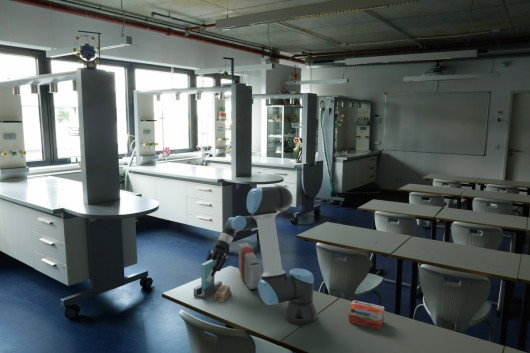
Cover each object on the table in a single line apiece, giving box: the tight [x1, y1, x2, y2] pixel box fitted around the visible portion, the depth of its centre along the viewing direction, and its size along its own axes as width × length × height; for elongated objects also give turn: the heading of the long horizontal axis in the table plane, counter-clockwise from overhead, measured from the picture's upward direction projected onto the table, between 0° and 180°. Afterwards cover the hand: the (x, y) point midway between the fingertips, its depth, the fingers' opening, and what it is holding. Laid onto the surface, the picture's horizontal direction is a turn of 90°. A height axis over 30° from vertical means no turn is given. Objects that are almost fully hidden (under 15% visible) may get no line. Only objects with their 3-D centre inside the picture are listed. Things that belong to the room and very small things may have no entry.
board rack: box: [193, 280, 223, 300], centre depth 219 cm, size 8×15×4 cm, turn 149°
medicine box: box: [348, 299, 385, 330], centre depth 190 cm, size 15×8×8 cm, turn 65°
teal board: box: [200, 260, 215, 291], centre depth 218 cm, size 2×8×17 cm, turn 149°
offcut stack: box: [213, 284, 232, 303], centre depth 214 cm, size 6×11×4 cm, turn 162°
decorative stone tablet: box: [238, 242, 262, 290], centre depth 230 cm, size 19×6×30 cm
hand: (205, 280), depth 217 cm, fingers closed on teal board, 2 cm apart
